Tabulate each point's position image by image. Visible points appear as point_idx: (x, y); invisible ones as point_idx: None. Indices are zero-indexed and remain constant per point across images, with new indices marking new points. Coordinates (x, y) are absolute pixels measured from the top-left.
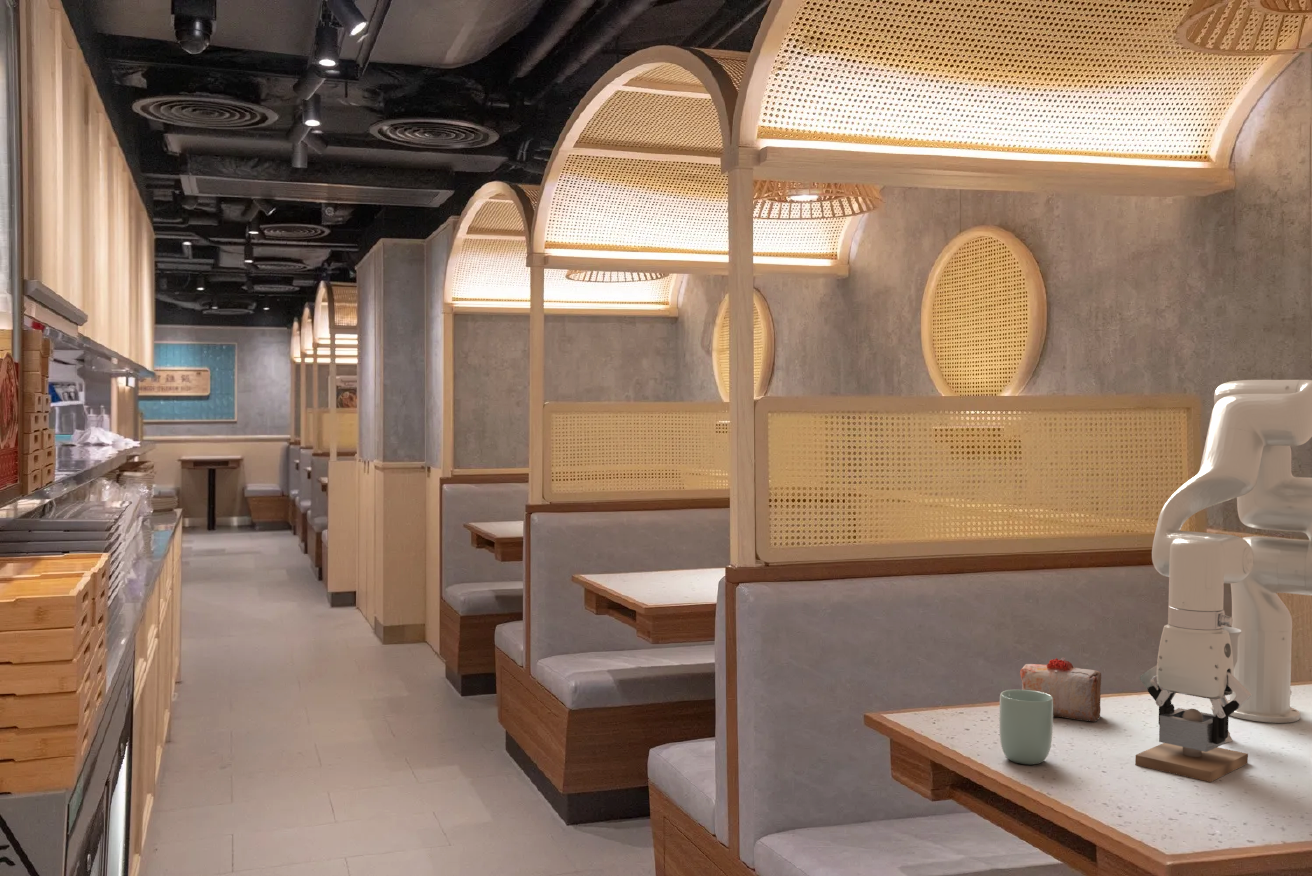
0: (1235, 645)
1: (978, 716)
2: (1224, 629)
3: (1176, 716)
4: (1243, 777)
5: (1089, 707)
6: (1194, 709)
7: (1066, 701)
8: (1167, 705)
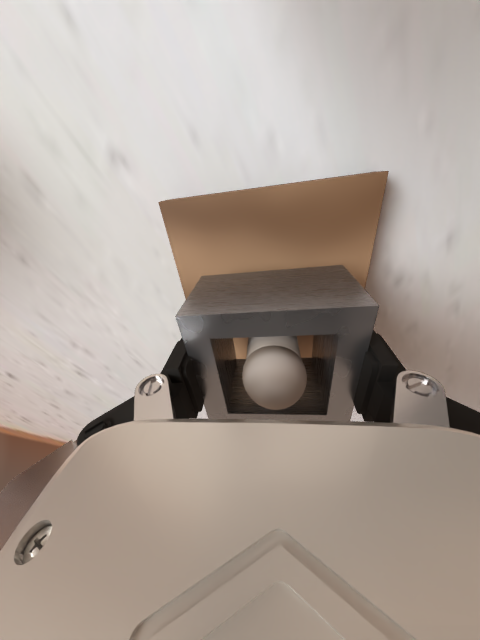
0: None
1: None
2: None
3: (221, 373)
4: (385, 302)
5: None
6: (281, 404)
7: None
8: (189, 407)
